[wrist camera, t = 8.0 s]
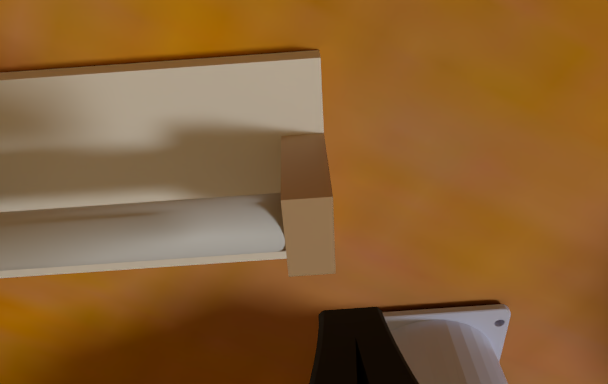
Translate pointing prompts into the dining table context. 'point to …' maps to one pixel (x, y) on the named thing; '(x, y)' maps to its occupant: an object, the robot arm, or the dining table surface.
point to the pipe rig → (165, 166)
